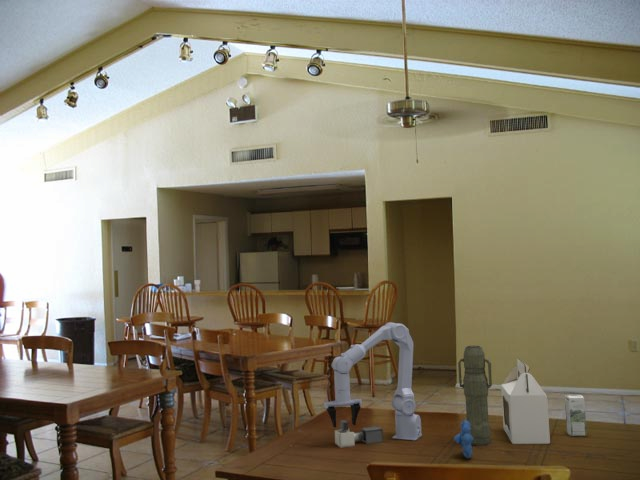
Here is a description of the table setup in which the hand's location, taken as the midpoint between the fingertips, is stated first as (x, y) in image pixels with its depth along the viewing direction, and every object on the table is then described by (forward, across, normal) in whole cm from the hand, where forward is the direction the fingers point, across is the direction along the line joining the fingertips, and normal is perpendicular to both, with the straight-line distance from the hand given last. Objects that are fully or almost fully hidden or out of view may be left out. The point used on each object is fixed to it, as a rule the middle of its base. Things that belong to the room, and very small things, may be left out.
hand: (344, 425), depth 237 cm
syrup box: (+8, -83, +25) cm, 87 cm away
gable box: (+8, -66, +18) cm, 69 cm away
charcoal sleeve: (+7, -11, 0) cm, 13 cm away
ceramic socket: (+7, 0, 0) cm, 7 cm away
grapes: (+7, -32, +32) cm, 46 cm away
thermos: (+7, -46, +18) cm, 50 cm away
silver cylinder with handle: (+6, -3, 0) cm, 7 cm away
